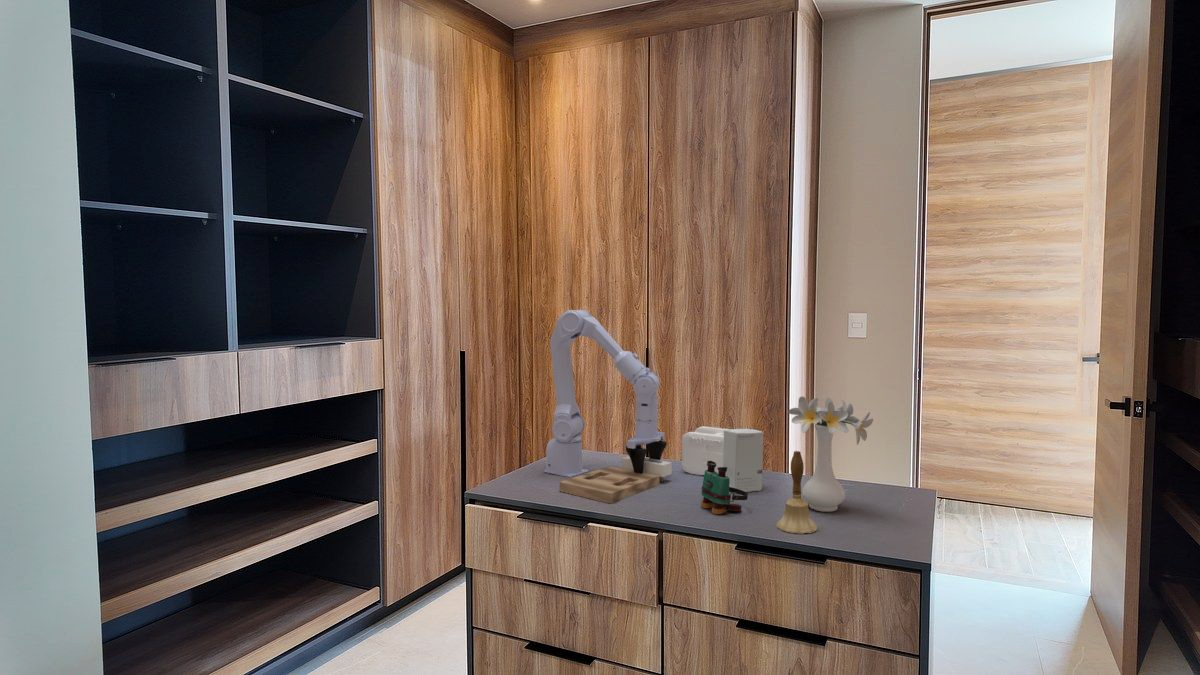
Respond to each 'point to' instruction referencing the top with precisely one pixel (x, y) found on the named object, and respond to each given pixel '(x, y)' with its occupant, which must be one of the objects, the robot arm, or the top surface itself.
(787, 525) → the hand bell
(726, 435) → the skincare box
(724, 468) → the binoculars
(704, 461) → the white rounded box
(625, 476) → the keyhole board
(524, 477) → the top surface
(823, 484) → the flower vase
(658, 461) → the white rectangular block
